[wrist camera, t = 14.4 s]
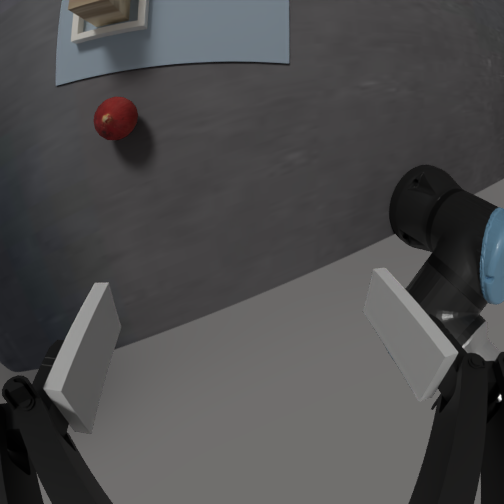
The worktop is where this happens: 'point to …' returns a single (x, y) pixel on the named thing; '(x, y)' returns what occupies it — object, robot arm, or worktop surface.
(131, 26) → the frame
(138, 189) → the worktop surface
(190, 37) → the mat
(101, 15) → the block
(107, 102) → the onion
